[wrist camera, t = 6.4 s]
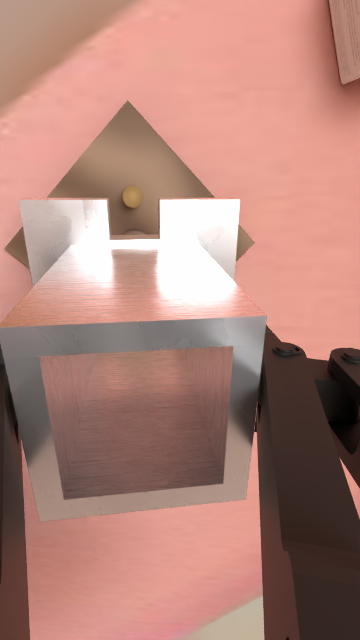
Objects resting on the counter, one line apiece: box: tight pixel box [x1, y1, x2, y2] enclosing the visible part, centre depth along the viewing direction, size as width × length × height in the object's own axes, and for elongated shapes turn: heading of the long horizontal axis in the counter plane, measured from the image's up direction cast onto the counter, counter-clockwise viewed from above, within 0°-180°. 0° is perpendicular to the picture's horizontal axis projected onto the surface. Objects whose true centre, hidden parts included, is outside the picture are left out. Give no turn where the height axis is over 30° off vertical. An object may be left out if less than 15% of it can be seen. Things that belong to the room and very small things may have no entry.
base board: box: [5, 101, 255, 269], centre depth 29 cm, size 16×16×8 cm
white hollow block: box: [0, 198, 267, 522], centre depth 14 cm, size 10×10×11 cm
